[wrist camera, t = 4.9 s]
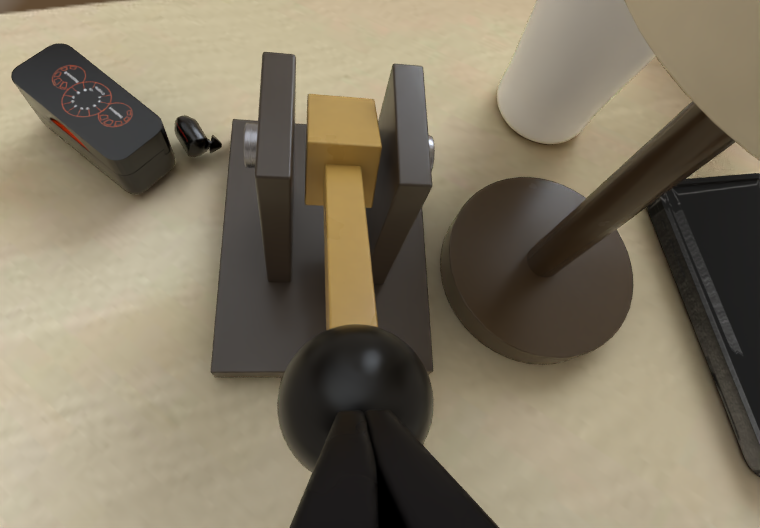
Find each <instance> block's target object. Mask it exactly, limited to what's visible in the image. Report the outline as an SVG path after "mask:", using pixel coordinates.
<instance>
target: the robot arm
mask: <svg viewBox="0 0 760 528" xmlns="http://www.w3.org/2000/svg"><path fill="white" fill-rule="evenodd" d="M290 528H499V527H498V526H497V525H496V523H495V522H494V521H493V520H492V519H491V518H490V517H489V516H488V515H487V514H486V513H485V512H484V511H483V509H482V508H481V507H480V506H479V505H478V504H477V503H476V502H475V501H474V500H473V499H472V498H471V497H470V495H469V494H468V493H467V492H466V491H465V490H464V489H463V488H462V487H461V486H460V485H459V484H458V483H457V481H456V480H455V479H454V478H453V477H452V476H451V475H450V474H449V473H448V472H447V471H446V470H445V469H444V467H443V466H442V465H441V464H440V463H439V462H438V461H437V460H436V459H435V458H434V457H433V456H432V455H431V454H430V452H429V451H428V450H427V449H426V448H425V447H424V446H423V445H422V444H421V443H420V442H419V441H418V440H417V438H416V437H415V436H414V435H413V434H412V433H411V432H410V431H409V430H408V429H407V428H406V427H405V426H404V424H403V423H402V422H401V421H400V420H399V419H398V418H397V417H396V416H395V415H394V414H393V413H392V412H391V411H390V410H387V409H377V410H367V411H365V413H363V411H361V410H342V411H339V412H338V413H337V415H336V417H335V420H334V422H333V424H332V427H331V429H330V432H329V434H328V436H327V439H326V441H325V444H324V446H323V448H322V451H321V453H320V456H319V458H318V460H317V463H316V465H315V468H314V470H313V472H312V475H311V477H310V480H309V482H308V485H307V487H306V489H305V492H304V494H303V497H302V499H301V501H300V504H299V506H298V509H297V511H296V513H295V516H294V518H293V521H292V523H291V525H290Z"/></svg>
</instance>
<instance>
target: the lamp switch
mask: <svg viewBox="0 0 760 528" xmlns="http://www.w3.org/2000/svg"><path fill="white" fill-rule="evenodd" d="M295 88H296V57H295V55H293V54H283V53H272V52H264V53H263V55H262V70H261V85H260V100H259V115H258V121H252V120H238V119H233V122H232V133H231V145H230V156H229V168H228V179H227V191H226V202H225V213H224V225H223V236H222V248H221V259H220V271H219V282H218V294H217V305H216V317H215V328H214V340H213V351H212V363H211V373H212V374H213V375H214V377H283V375H284V373H285V370H286V368H287V366H288V364H289V363H290V361H291V360H292V358H293V357H294V355H295V354H296V353H297V352H298V351H299V349H300V348H301V347H302V346H303V345H305V344H306V343H307V342H308V341H309V340H311V339H312V338H314V337H315V336H316V335H318V334H320V333H322V332H324V331H326V297H325V252H324V206H317V205H305V151H306V126H307V124H295ZM378 125H379V132H380V138H381V144H382V150H381V156H380V163H379V169H378V175H377V181H376V187H375V193H374V199H373V205H372V208H366V218H367V227H368V236H369V246H370V255H371V264H372V274H373V283H374V292H375V302H376V311H377V321H378V328H381V329H384V330H386V331H389V332H391V333H392V334H394V335H396V336H397V337H399V338H400V339H402V340H403V341H404V342H405V343H406V344H408V345H409V346H410V347H411V348H412V349H413V350H414V351H415V353H416V354H417V355H418V357H419V358H420V360H421V361H422V363H423V365H424V367H425V369H426V371H427V373H428V375H429V374H430V373H431V372H433V360H432V346H431V331H430V317H429V302H428V287H427V273H426V258H425V244H424V229H423V215H422V206H423V204H424V202H425V200H426V198H427V196H428V194H429V192H430V190H431V188H432V175H431V172H432V168H433V163H434V152H435V150H434V141H433V138H432V136H430V135H428V124H427V112H426V99H425V86H424V73H423V67H422V66H415V65H404V64H393V66H392V69H391V73H390V77H389V81H388V85H387V89H386V93H385V97H384V101H383V105H382V109H381V113H380V117H379V121H378Z"/></svg>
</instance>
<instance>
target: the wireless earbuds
mask: <svg viewBox="0 0 760 528" xmlns="http://www.w3.org/2000/svg"><path fill="white" fill-rule="evenodd" d="M11 77H12V80H13V82H14V83H15V85H16V86H17V87H18V89H19V90H20V92H21V93H22V94H23V96H24V97H25V99H26V100H27V101H28V103H29V104H30V106H31V107H32V108H33V110H34V111H35V113H36V114H37V115H38V117H39V118H40V120H41V121H42V122H43V123H44V124H45V125H46V126H48V127H49V128H50V129H51V130H52V131H54V132H55V133H56V134H57V135H58V136H60V137H61V138H62V139H63V140H64V141H66V142H67V143H68V144H69V145H71V146H72V147H73V148H74V149H75V150H77V151H78V152H79V153H80V154H81V155H83V156H84V157H85V158H86V159H88V160H89V161H90V162H91V163H92V164H94V165H95V166H96V167H97V168H98V169H100V170H101V171H102V172H103V173H105V174H106V175H107V176H108V177H109V178H111V179H112V180H113V181H114V182H115V183H117V184H118V185H119V186H120V187H121V188H123V189H124V190H125V191H127V192H128V193H131V194H141V193H143V192H145V191H146V190H148V189H149V188H150V187H151V186H152V185H154V184H155V183H156V182H157V181H158V180H160V179H161V178H162V177H163V176H164V175H166V174H167V173H168V172H169V171H171V169H172V168H173V167H174V165H175V156H174V153H173V150H172V147H171V145H170V142H169V139H168V137H167V134H166V131H165V129H164V126H163V123H162V121H161V119H160V118H159V116H157V115H156V114H155V113H154V112H152V111H151V110H150V109H149V108H147V107H146V106H145V105H144V104H142V103H141V102H140V101H139V100H137V99H136V98H135V97H134V96H132V95H131V94H130V93H129V92H127V91H126V90H125V89H124V88H122V87H121V86H120V85H118V84H117V83H116V82H115V81H113V80H112V79H111V78H110V77H108V76H107V75H106V74H105V73H103V72H102V71H101V70H100V69H98V68H97V67H96V66H95V65H93V64H92V63H91V62H90V61H88V60H87V59H86V58H85V57H83V56H82V55H81V54H79V53H78V52H77V51H76V50H74V49H73V48H72V47H70V46H69V45H66V44H53V45H51V46H49V47H47V48H45V49H44V50H42V51H41V52H39V53H38V54H36V55H34V56H33V57H31V58H30V59H28V60H27V61H25V62H23V63H22V64H20V65H19V66H17V67H16V68H15V69H14V70H13V72H12V76H11ZM175 134H176V136H177V138H178V140H179V141H180V143H181V145H182V146H183V148H184V150H185V151H186V153H187V154H188V156H190V157H198V156H201V155H202V154H204V153H205V152H207V150H208V149H209V148H210V153H213V152H215V151H216V150H218V149H220V148H221V147H222V144H221V142H220V141H219V140H218V139H217V138H216V137H215V136H214V135H212V138H211V141H209V139H207V137H206V136H205V134H204V132H203V131H202V129H201V128H200V126H199V124H198V123H197V121H196V120H195V119H193V118H191V117H189V116H185V115H184V116H180V117H178V118H177V119H176V121H175Z"/></svg>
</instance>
